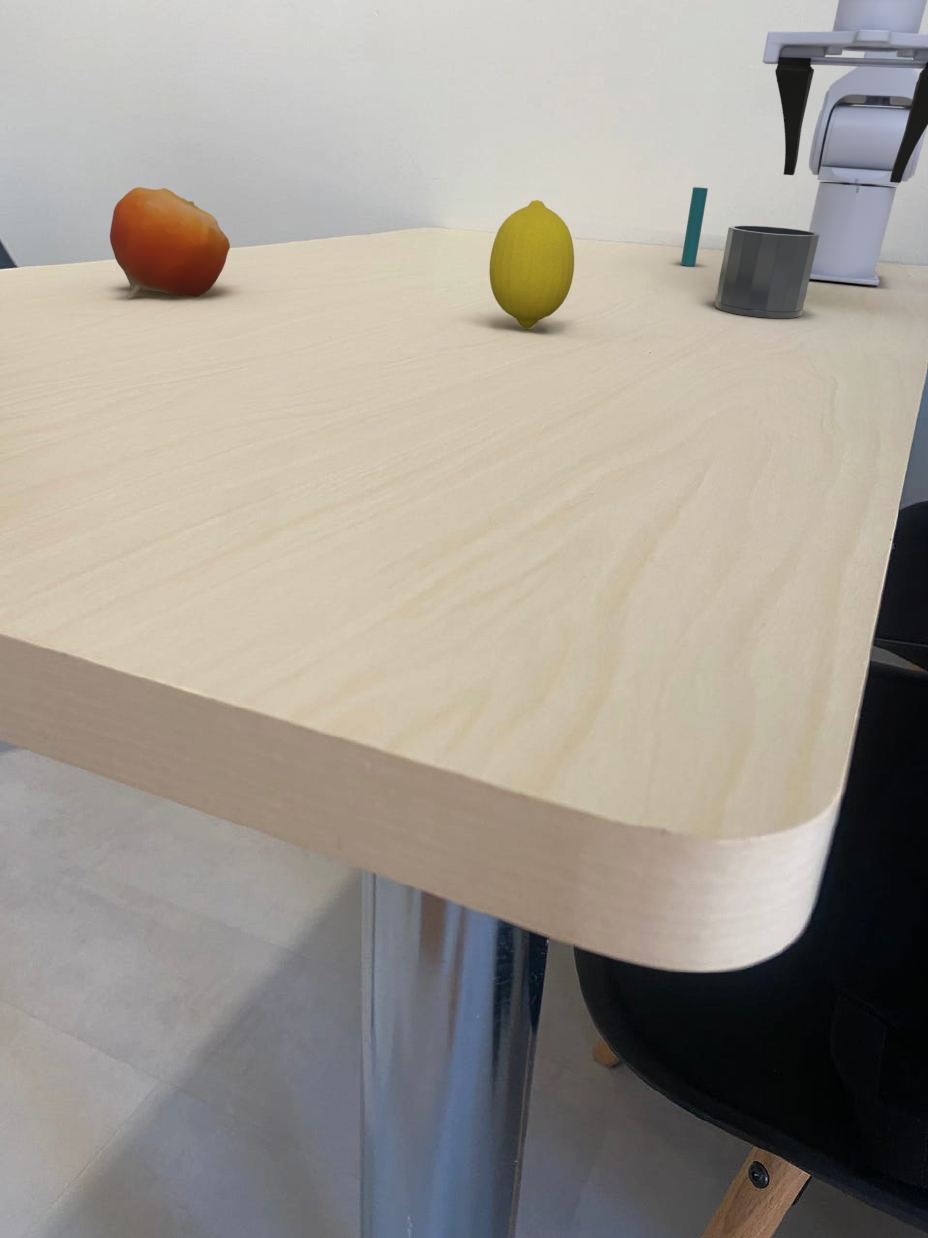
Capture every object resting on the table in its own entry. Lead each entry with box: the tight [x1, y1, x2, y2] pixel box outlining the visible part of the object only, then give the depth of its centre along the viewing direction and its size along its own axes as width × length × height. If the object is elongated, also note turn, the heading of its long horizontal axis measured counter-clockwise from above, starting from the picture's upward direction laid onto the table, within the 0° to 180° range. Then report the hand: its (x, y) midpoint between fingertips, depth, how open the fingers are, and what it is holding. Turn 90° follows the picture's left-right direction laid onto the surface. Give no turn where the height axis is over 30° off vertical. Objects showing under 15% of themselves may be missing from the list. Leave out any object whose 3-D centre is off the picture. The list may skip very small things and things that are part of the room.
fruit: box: [109, 186, 231, 299], centre depth 65 cm, size 8×8×8 cm
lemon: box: [489, 199, 575, 330], centre depth 60 cm, size 6×6×8 cm
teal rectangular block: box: [680, 186, 709, 267], centre depth 95 cm, size 2×2×8 cm
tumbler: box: [714, 224, 819, 319], centre depth 72 cm, size 7×7×6 cm
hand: (840, 178), depth 69 cm, fingers open, 7 cm apart
